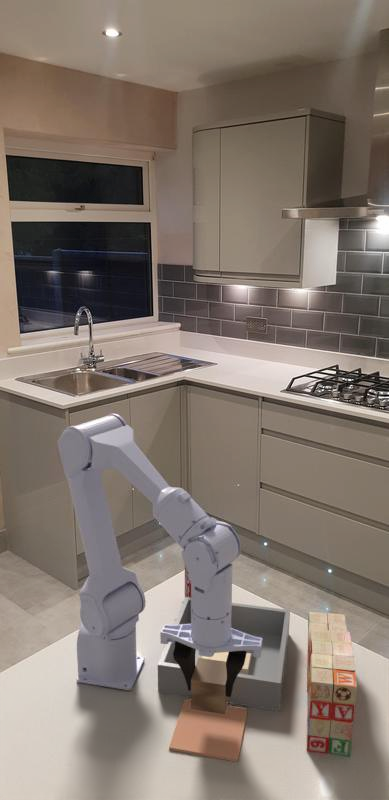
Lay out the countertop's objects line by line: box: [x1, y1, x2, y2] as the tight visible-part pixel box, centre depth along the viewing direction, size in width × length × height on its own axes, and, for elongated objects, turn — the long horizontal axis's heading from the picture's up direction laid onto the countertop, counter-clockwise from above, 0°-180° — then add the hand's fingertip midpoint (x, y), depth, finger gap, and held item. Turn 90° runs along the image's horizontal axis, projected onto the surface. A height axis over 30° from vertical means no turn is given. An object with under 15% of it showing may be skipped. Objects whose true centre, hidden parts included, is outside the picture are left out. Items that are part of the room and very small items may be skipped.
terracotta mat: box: [168, 698, 249, 763], centre depth 96 cm, size 10×10×1 cm
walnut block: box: [190, 658, 229, 714], centre depth 95 cm, size 5×5×5 cm
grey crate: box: [157, 596, 291, 711], centre depth 111 cm, size 20×20×6 cm
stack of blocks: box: [306, 611, 358, 758], centre depth 101 cm, size 21×6×12 cm, turn 171°
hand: (210, 689), depth 95 cm, fingers closed on walnut block, 5 cm apart
